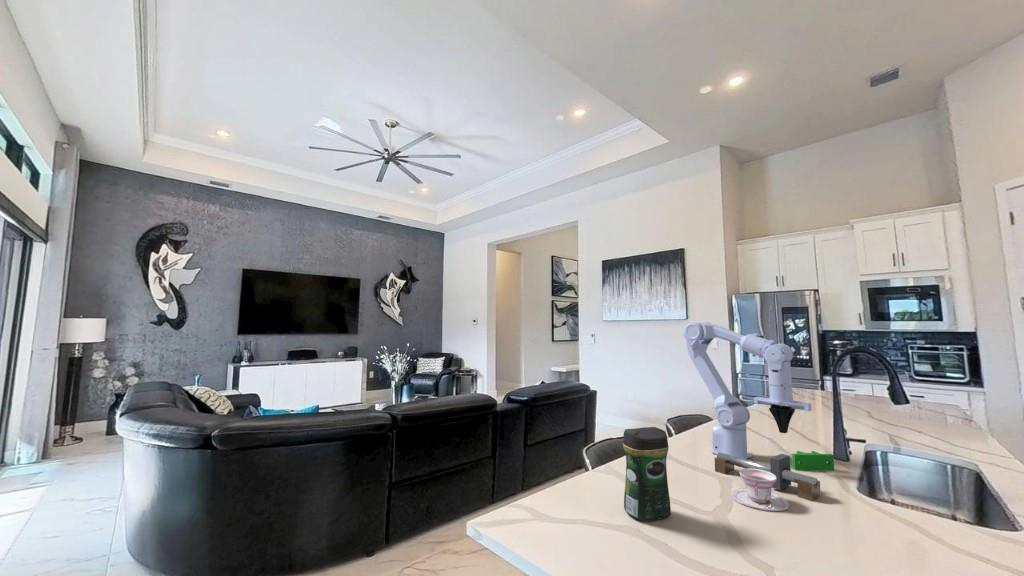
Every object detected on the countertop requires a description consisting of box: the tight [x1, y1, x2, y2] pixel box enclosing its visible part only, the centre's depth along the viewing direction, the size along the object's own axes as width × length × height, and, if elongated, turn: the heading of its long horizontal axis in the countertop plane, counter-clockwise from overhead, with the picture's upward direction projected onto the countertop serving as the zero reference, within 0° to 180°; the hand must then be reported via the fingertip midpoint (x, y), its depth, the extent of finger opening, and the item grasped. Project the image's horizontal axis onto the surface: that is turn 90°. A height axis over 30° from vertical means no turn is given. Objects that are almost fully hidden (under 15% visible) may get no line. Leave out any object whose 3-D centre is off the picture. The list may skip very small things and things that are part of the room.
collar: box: [769, 453, 792, 491], centre depth 108 cm, size 2×6×7 cm, turn 125°
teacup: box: [730, 468, 790, 512], centre depth 101 cm, size 12×12×6 cm
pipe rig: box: [714, 452, 822, 502], centre depth 112 cm, size 24×5×5 cm, turn 35°
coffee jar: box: [622, 426, 672, 522], centre depth 94 cm, size 10×8×19 cm
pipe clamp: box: [791, 450, 835, 472], centre depth 123 cm, size 11×4×5 cm, turn 89°
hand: (783, 432), depth 123 cm, fingers closed
